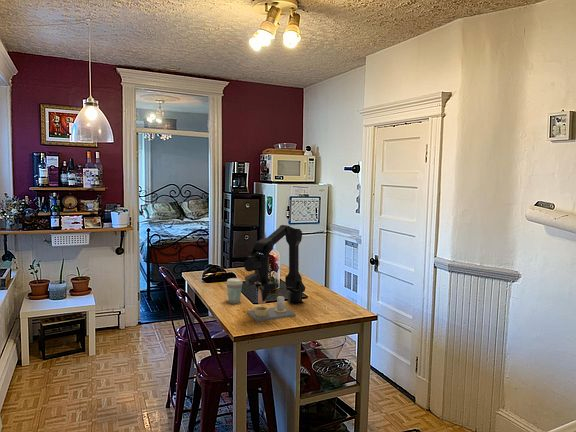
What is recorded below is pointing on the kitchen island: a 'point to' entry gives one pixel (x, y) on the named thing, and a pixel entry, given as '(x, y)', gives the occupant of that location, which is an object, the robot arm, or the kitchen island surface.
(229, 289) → the coffee cup
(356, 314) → the kitchen island surface
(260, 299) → the brown peg
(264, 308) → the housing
